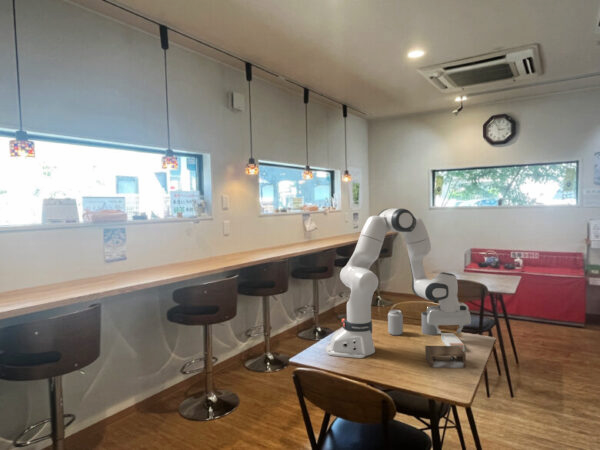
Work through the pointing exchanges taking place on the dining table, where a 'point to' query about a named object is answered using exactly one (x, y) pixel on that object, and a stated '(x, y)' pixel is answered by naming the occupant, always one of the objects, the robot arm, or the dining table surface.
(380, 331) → the dining table surface
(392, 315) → the can
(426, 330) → the cup
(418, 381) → the dining table surface
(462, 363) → the cabinet
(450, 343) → the white and orange box
